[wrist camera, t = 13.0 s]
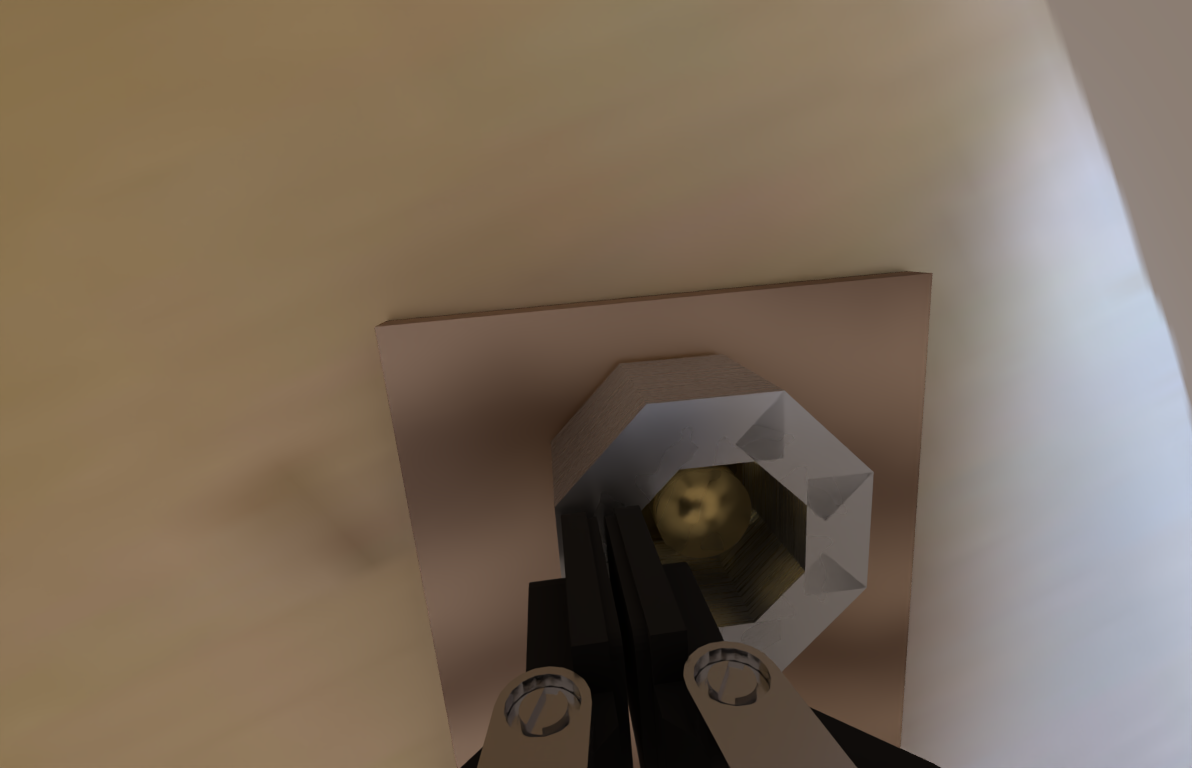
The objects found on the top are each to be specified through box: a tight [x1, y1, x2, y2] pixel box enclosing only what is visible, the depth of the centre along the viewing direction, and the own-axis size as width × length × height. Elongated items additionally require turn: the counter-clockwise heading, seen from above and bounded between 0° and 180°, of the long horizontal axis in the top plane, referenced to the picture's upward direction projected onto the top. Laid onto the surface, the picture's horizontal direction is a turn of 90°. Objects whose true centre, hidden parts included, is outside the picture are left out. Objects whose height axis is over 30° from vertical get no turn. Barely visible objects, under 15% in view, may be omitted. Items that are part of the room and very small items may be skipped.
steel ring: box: [551, 354, 874, 672], centre depth 14 cm, size 7×7×4 cm
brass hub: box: [641, 357, 752, 558], centre depth 15 cm, size 7×7×3 cm
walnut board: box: [375, 271, 932, 768], centre depth 19 cm, size 24×16×1 cm, turn 5°
